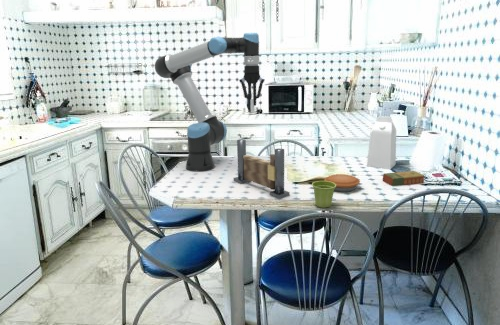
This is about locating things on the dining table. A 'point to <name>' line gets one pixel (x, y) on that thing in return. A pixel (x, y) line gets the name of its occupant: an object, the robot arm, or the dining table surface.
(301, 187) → the dining table surface
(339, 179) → the pie
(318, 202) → the plant pot
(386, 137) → the milk
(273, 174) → the gate posts
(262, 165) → the gate
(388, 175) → the carton
